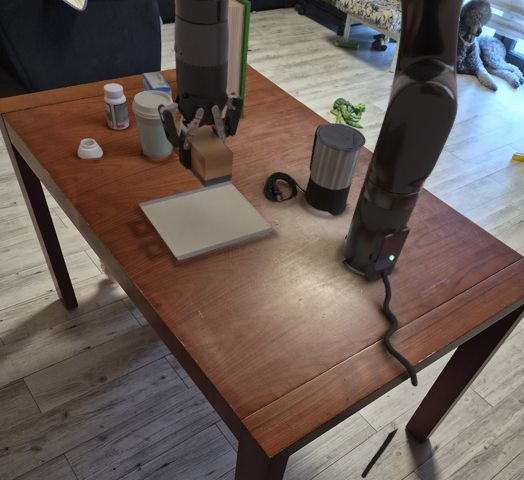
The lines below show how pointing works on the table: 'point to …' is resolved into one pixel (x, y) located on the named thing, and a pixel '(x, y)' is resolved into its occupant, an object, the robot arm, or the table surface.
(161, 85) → the medicine box
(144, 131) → the coffee cup
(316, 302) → the table surface
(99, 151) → the white jar
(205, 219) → the board
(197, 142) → the eraser
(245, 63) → the hardback book
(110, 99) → the pill bottle
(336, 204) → the milk frother
